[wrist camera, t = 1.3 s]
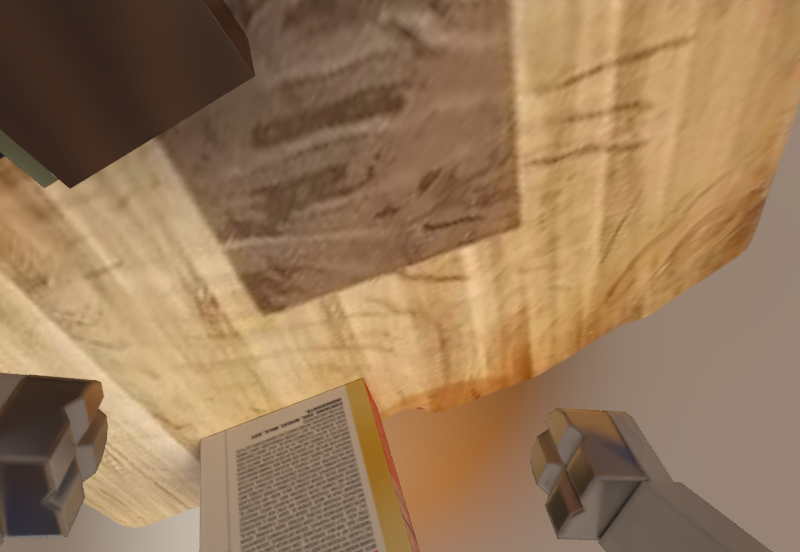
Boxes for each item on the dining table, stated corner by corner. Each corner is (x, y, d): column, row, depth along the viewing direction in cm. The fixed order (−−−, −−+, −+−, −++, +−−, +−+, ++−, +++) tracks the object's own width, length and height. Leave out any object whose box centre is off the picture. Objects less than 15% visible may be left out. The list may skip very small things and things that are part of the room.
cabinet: (90, 136, 40) (69, 189, 34) (-80, -28, 31) (-147, 5, 25) (248, 38, 38) (255, 75, 32) (116, -161, 30) (94, -159, 24)
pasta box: (227, 465, 73) (237, 734, 51) (200, 439, 67) (198, 727, 46) (377, 408, 74) (448, 646, 53) (362, 378, 69) (435, 630, 47)
